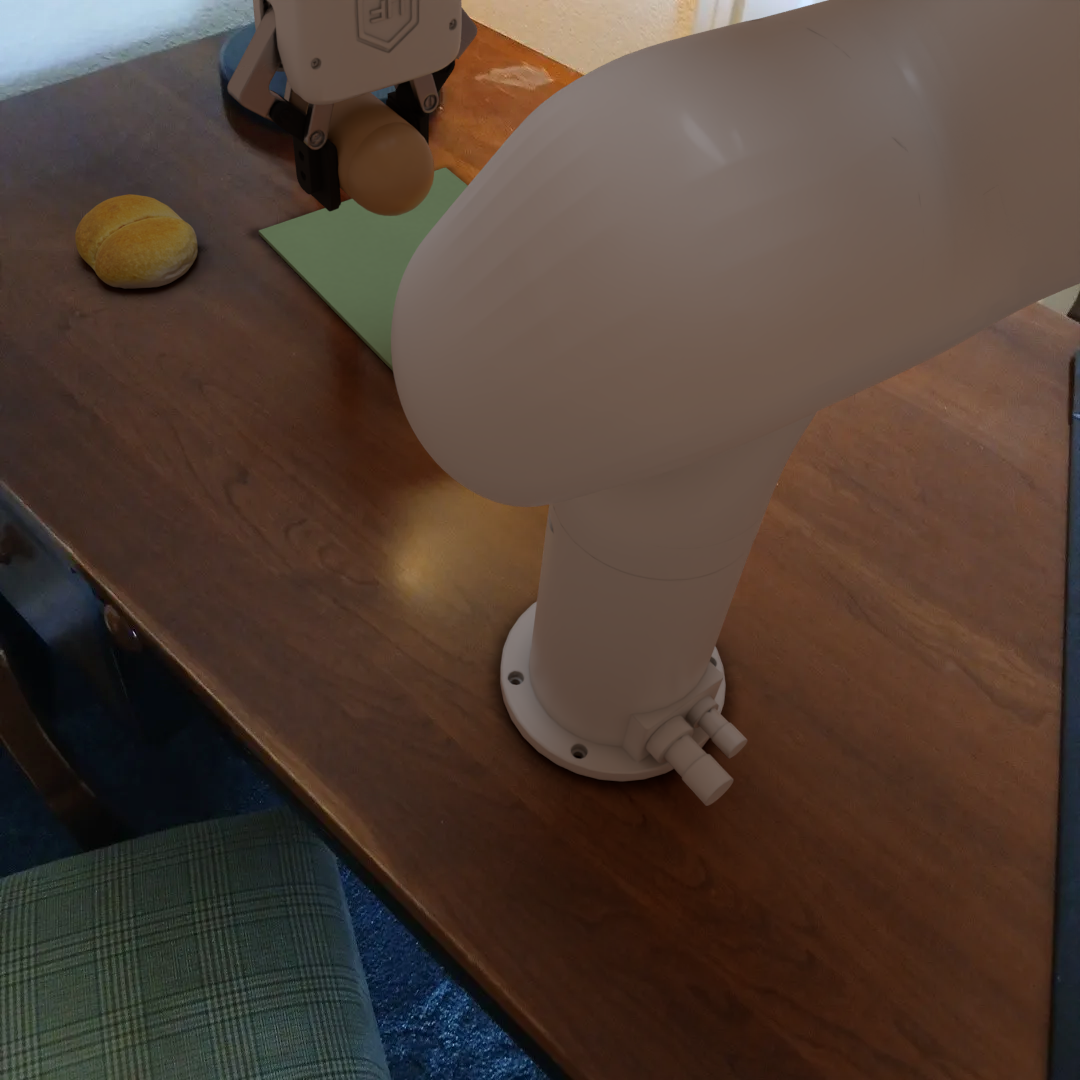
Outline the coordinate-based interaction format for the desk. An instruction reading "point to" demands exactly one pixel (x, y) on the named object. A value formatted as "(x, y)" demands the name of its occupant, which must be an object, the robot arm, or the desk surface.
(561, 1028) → the desk surface
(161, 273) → the bread roll
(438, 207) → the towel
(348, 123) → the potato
